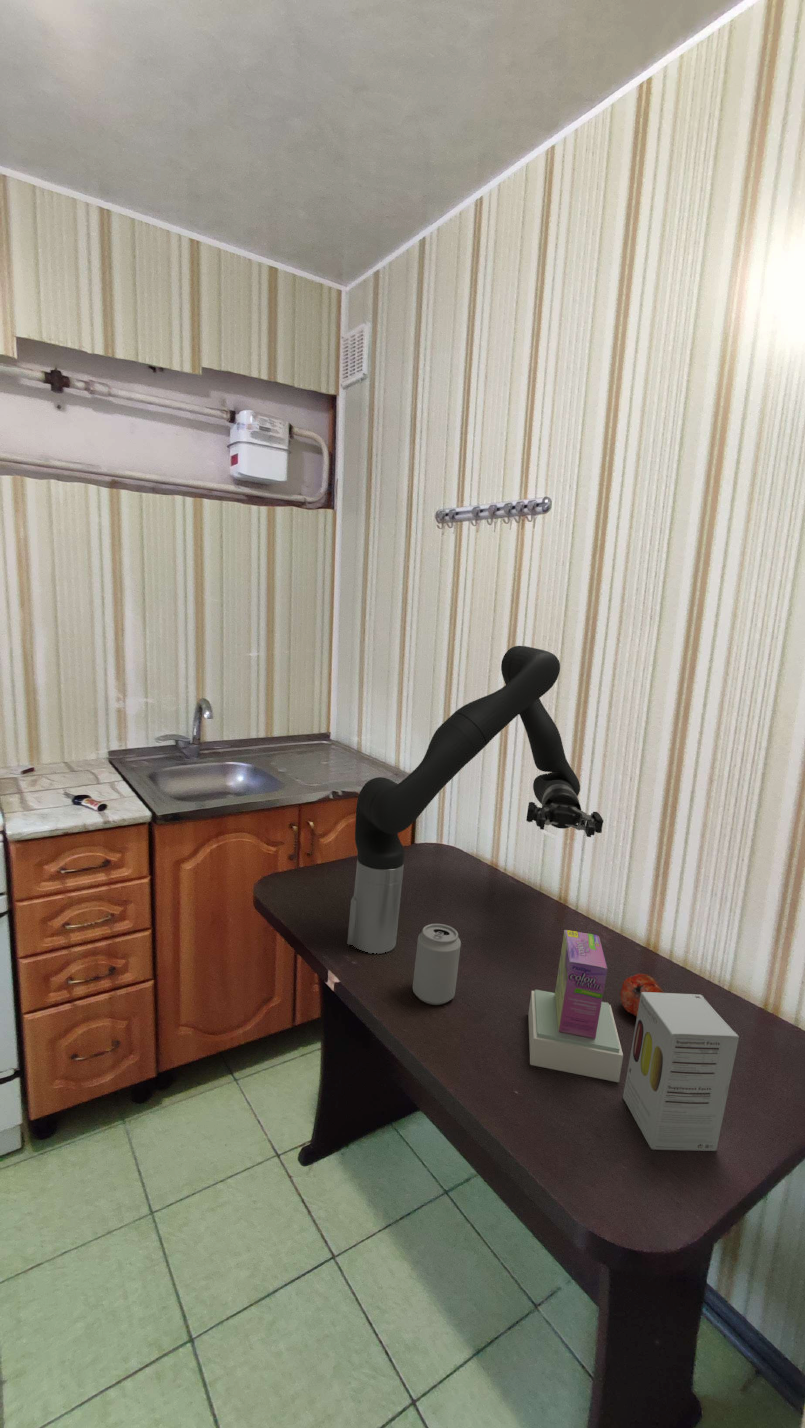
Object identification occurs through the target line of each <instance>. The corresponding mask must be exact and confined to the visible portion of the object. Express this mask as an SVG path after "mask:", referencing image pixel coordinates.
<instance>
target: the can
mask: <svg viewBox="0 0 805 1428" xmlns="http://www.w3.org/2000/svg"><path fill="white" fill-rule="evenodd" d="M421 930H422V931H421V933H419V934H418V937H417V943H416V953H415V964H414V973H413V982H412V991H413V993H414V994H415V996H416V997H417V998H418V999H419V1000H420V1001H421V1002H423V1003H426V1004H428V1005H433V1006H439V1005H444V1004H446V1003H448V1002H450V1001H451V1000H453V999H454V998H455V995H456V988H457V979H458V971H459V963H460V954H461V952H460V951H461V945H462V941H461V939H460V938H459V933H458V931H457V930H456V929H455V928H453V927H452V926H451V925H447V924H444V923H443V924H442V923H429V924H428V925H425V926H424V927H423V928H422V929H421Z"/></svg>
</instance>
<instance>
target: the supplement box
mask: <svg viewBox="0 0 805 1428" xmlns="http://www.w3.org/2000/svg"><path fill="white" fill-rule="evenodd" d="M739 1039H740V1036H739V1035H738V1033H736V1031H734V1029H732V1028H731V1026H730V1025H729V1024H728V1023H727V1022H726V1021H725V1020H724V1019H723V1018H722V1017H721V1015H719V1013H718V1012H717V1011H716V1010H715V1009H714V1008H713V1007H712V1005H711V1004H710V1003H709V1002H708V1001H707V999H706V998H705V997H704V995H702V994H694V993H675V992H674V993H673V992H664V993H656V992H641V996H640V1002H639V1008H638V1014H637V1017H636V1020H635V1026H634V1033H633V1037H632V1044H631V1050H630V1053H629V1060H628V1064H627V1065H628V1066H627V1071H626V1072H627V1073H626V1078H625V1083H624V1090H623V1095H622V1098H623V1100H624V1102H625V1104H626V1105H627V1107H628V1109H629V1111H630V1113H631V1114H632V1117H633V1118H634V1120H635V1122H636V1124H637V1126H638V1128H639V1130H640V1132H641V1133H642V1135H643V1137H644V1139H645V1140H646V1143H647V1144H648V1146H649V1148H650V1149H651V1150H656V1151H657V1150H658V1151H661V1150H662V1151H694V1152H695V1151H698V1152H699V1151H701V1152H702V1151H703V1152H707V1151H708V1152H710V1151H711V1152H716V1151H717V1148H718V1144H719V1139H720V1135H721V1134H720V1133H721V1128H722V1125H723V1120H724V1115H725V1109H726V1103H727V1099H728V1093H729V1088H730V1084H731V1079H732V1074H733V1070H734V1064H735V1059H736V1055H737V1049H738V1045H739Z"/></svg>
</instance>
